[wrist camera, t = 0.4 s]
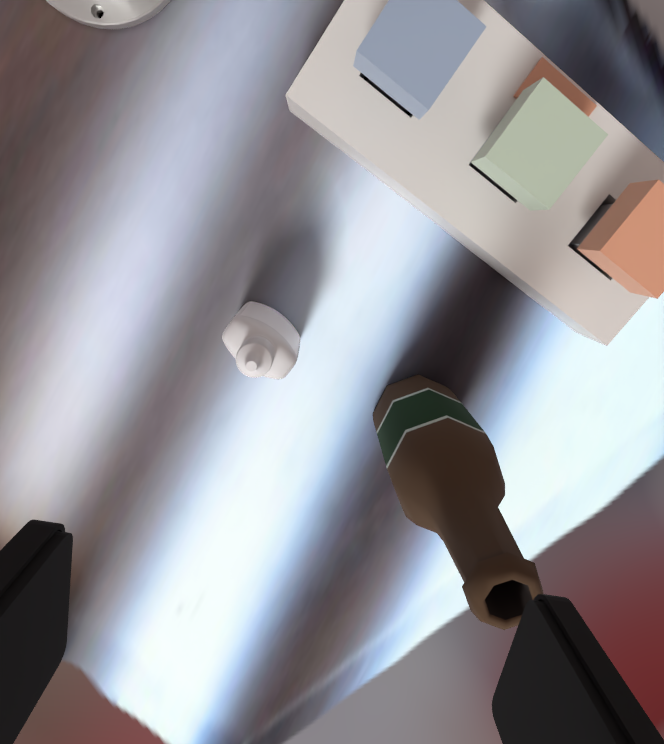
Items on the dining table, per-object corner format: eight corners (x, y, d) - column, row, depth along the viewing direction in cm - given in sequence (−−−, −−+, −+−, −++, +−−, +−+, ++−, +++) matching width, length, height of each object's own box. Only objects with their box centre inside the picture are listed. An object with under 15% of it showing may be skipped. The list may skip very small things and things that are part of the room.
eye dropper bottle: (277, 287, 43) (263, 311, 31) (305, 347, 44) (301, 391, 33) (230, 308, 43) (199, 340, 32) (260, 367, 45) (240, 417, 33)
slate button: (348, 86, 36) (356, 50, 29) (392, 18, 35) (413, -39, 28) (405, 133, 37) (429, 109, 30) (450, 68, 36) (486, 26, 29)
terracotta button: (545, 245, 40) (599, 251, 32) (591, 188, 39) (658, 179, 31) (593, 284, 41) (657, 298, 33) (639, 229, 40) (716, 230, 32)
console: (289, 110, 39) (285, 93, 34) (384, -41, 36) (394, -84, 31) (575, 332, 45) (609, 346, 39) (675, 215, 42) (724, 213, 37)
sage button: (451, 169, 38) (485, 156, 30) (496, 107, 37) (543, 77, 29) (503, 212, 39) (549, 209, 31) (549, 152, 38) (608, 134, 30)
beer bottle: (353, 411, 46) (389, 601, 23) (418, 354, 45) (527, 494, 22) (409, 468, 48) (495, 697, 25) (474, 414, 46) (628, 603, 23)
